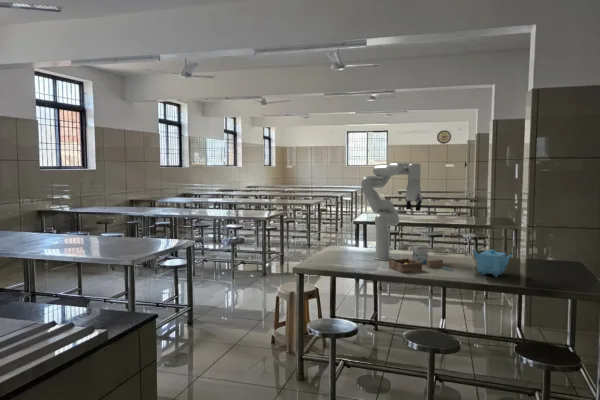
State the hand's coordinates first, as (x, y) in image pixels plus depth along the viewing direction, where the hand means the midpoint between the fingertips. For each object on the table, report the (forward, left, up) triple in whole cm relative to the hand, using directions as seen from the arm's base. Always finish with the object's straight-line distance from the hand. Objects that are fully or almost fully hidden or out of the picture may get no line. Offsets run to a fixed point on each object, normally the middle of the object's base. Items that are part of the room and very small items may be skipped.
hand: (413, 210), depth 292 cm
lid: (+10, +10, -37) cm, 39 cm away
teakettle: (+35, +31, -36) cm, 59 cm away
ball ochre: (+8, -9, -35) cm, 37 cm away
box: (+10, -12, -36) cm, 40 cm away
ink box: (-6, +11, -36) cm, 39 cm away
